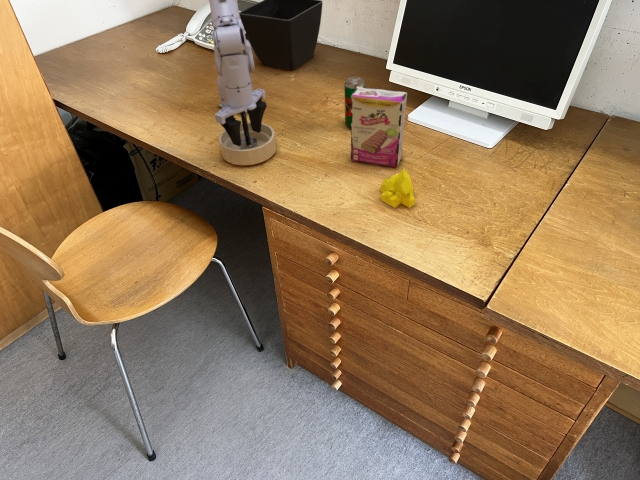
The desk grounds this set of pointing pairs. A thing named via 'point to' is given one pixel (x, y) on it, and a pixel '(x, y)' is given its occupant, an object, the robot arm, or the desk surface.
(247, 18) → the flower pot
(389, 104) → the candy bar box
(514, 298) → the desk surface
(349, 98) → the soda can
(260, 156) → the bowl
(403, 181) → the yellow faceted lump
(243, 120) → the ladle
